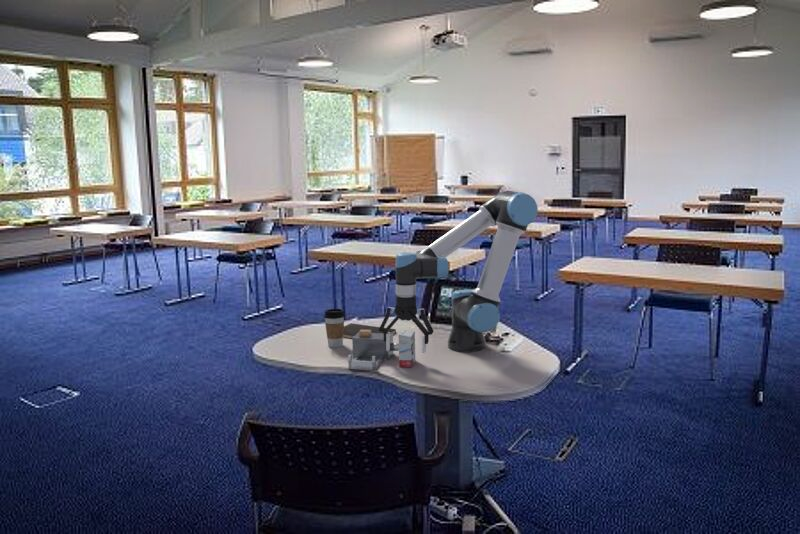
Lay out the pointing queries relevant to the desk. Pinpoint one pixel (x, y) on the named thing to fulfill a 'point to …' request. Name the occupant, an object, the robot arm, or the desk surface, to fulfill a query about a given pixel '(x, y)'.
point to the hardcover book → (353, 329)
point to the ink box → (406, 348)
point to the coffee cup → (334, 327)
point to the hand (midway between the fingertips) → (406, 351)
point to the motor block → (372, 345)
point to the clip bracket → (364, 363)
